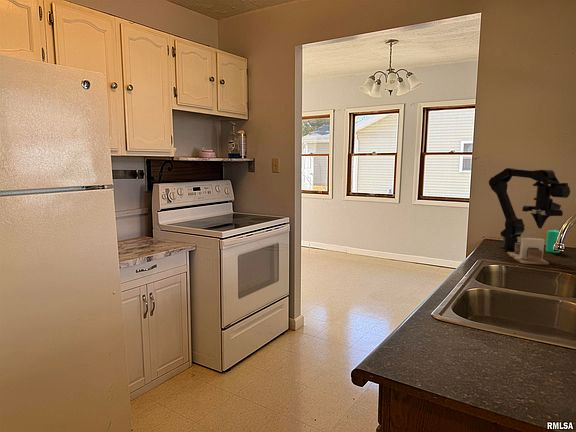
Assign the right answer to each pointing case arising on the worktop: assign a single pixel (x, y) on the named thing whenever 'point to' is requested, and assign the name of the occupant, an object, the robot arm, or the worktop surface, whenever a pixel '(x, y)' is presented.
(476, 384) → the worktop surface
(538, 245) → the sleeve
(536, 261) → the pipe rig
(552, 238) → the candle
